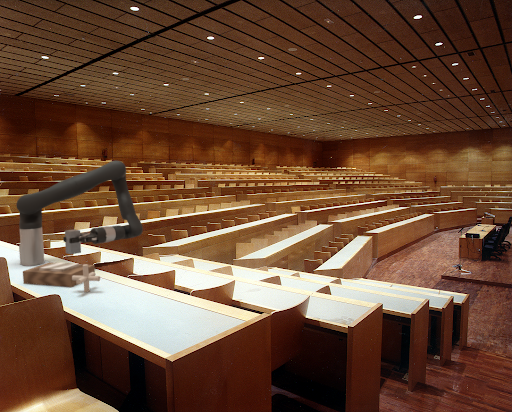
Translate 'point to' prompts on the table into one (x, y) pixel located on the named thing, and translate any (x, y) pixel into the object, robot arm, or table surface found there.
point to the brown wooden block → (55, 274)
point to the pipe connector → (86, 278)
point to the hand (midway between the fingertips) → (66, 240)
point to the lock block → (72, 247)
